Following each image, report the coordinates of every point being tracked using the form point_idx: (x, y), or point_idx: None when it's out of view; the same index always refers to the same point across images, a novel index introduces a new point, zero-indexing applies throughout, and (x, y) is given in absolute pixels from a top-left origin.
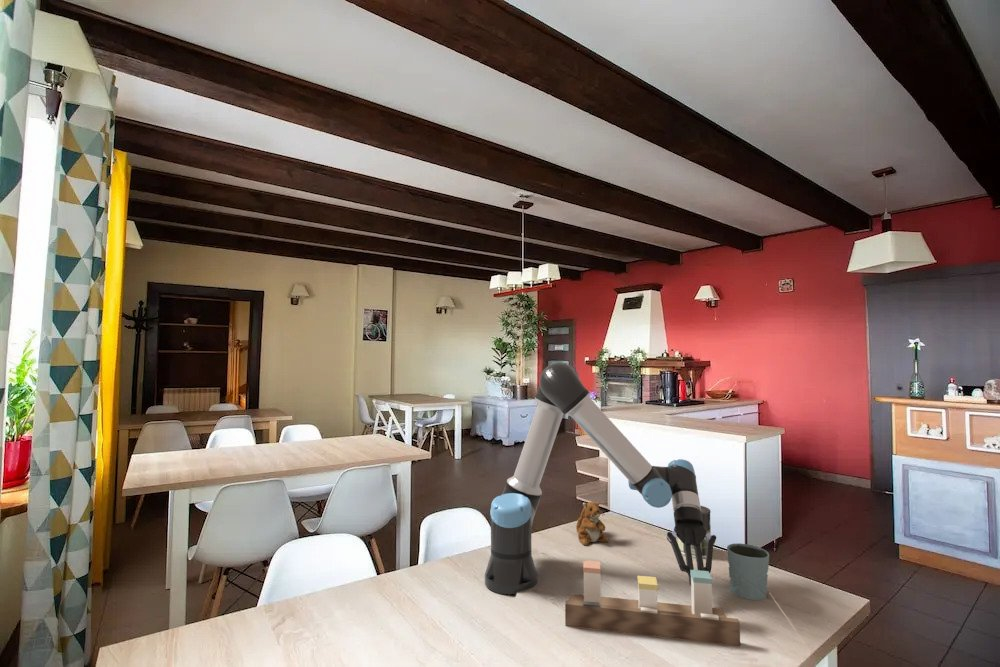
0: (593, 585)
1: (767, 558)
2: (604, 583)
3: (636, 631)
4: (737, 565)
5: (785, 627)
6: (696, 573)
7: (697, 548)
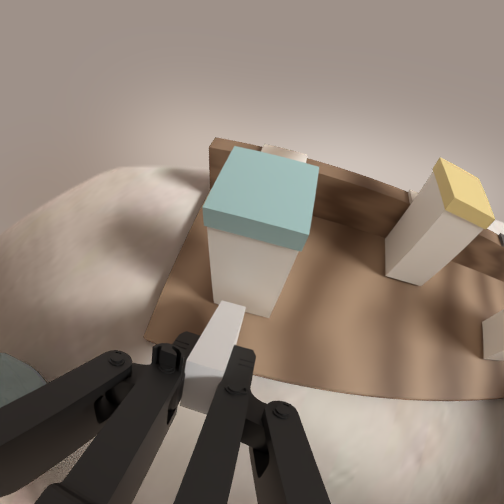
0: None
1: None
2: (447, 496)
3: None
4: None
5: (52, 251)
6: (289, 192)
7: (103, 484)
